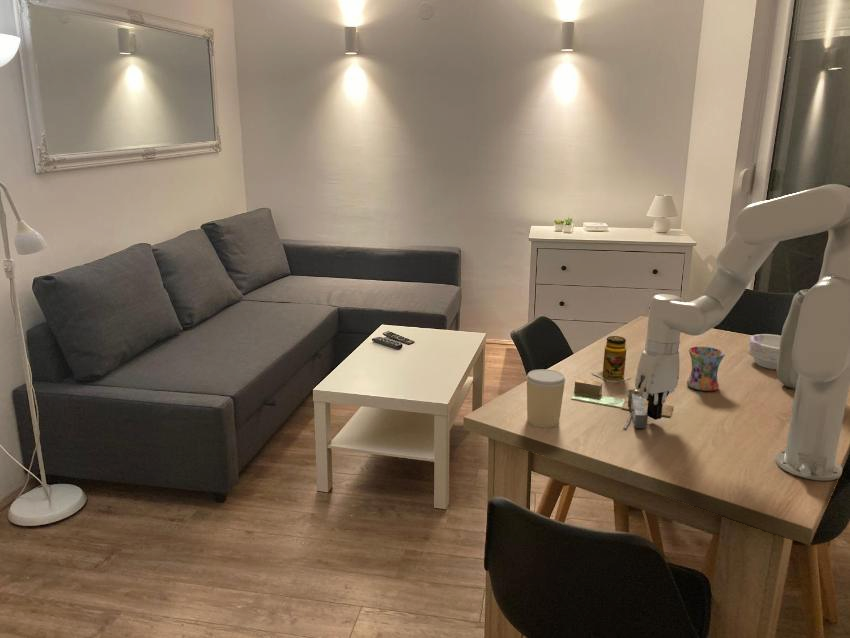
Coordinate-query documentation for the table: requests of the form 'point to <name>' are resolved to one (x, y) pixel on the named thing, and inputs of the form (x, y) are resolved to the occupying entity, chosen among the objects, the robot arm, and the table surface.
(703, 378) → the mug
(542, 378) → the coffee cup
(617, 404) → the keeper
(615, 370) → the condiment
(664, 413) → the plate
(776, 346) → the paper bowls
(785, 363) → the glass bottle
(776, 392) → the table surface
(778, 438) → the table surface
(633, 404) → the swing bar
